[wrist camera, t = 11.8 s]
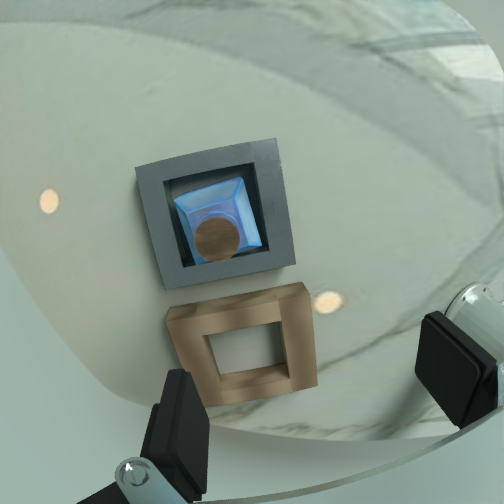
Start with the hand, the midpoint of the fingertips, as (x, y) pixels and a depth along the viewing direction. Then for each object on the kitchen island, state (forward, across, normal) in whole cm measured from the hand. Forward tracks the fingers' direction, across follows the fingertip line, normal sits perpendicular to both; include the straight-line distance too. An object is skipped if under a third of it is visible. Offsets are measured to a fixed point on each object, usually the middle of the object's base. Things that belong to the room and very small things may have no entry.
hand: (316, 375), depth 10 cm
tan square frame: (+24, +4, +14) cm, 28 cm away
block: (+23, +4, -3) cm, 24 cm away
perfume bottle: (+24, +4, -3) cm, 24 cm away
